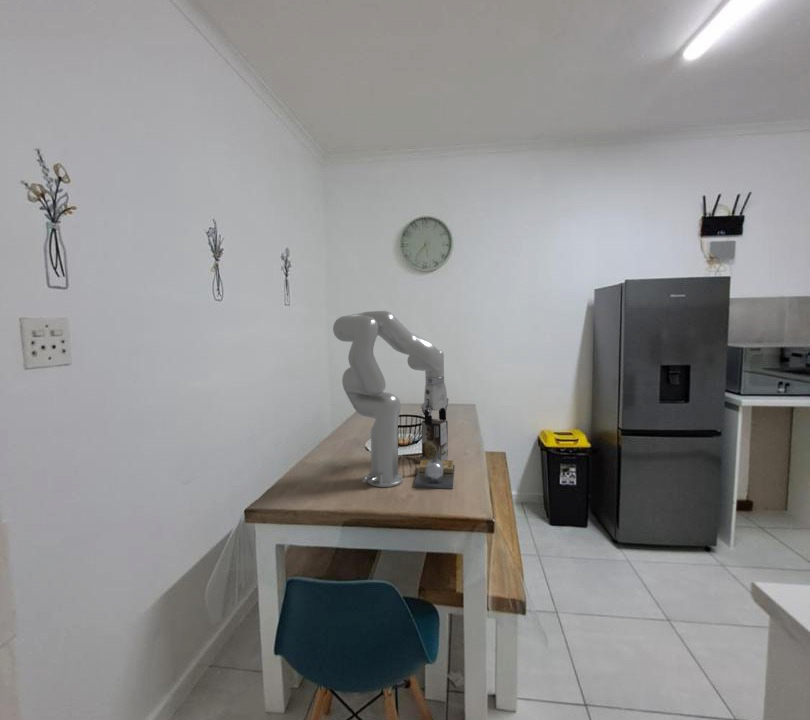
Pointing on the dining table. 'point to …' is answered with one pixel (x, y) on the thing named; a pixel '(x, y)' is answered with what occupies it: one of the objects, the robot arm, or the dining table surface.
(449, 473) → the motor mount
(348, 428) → the dining table surface
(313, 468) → the dining table surface
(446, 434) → the coffee box
